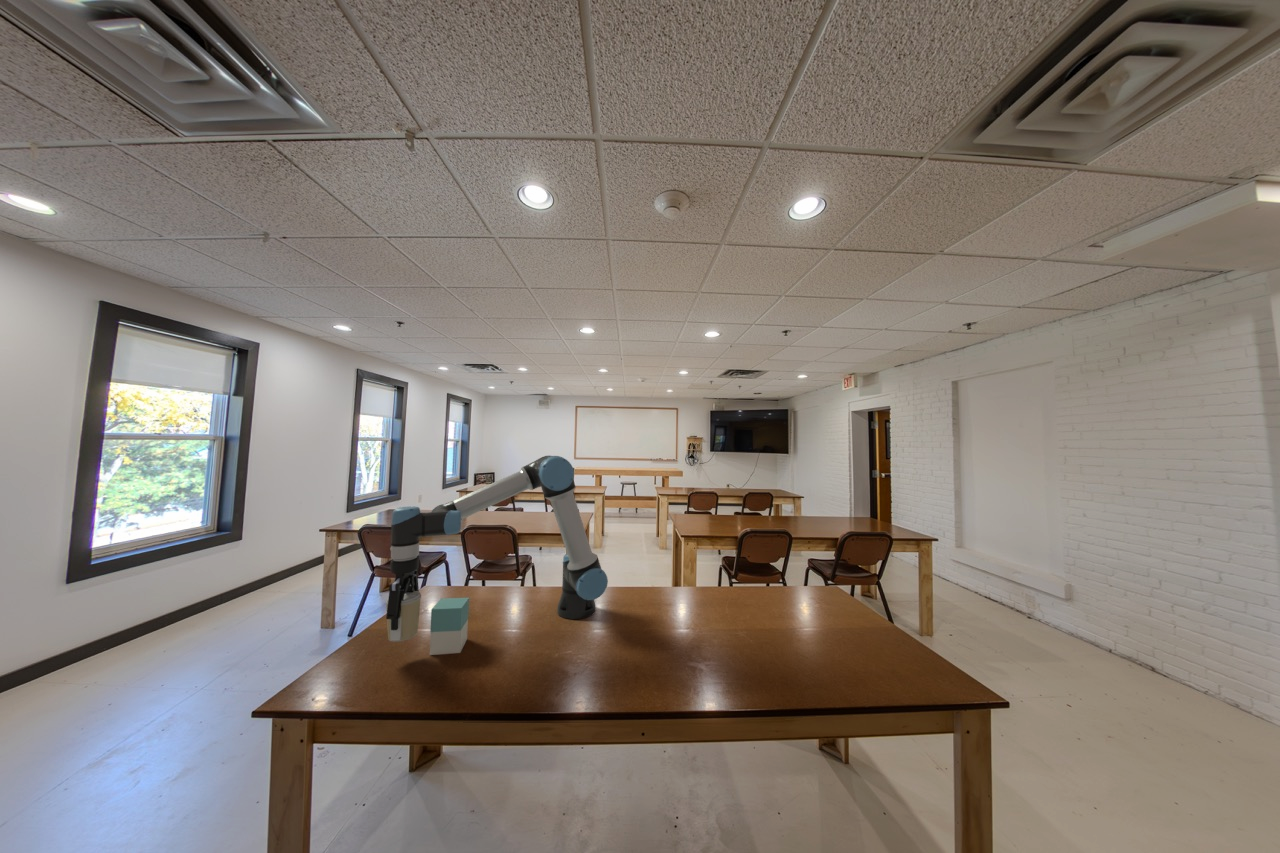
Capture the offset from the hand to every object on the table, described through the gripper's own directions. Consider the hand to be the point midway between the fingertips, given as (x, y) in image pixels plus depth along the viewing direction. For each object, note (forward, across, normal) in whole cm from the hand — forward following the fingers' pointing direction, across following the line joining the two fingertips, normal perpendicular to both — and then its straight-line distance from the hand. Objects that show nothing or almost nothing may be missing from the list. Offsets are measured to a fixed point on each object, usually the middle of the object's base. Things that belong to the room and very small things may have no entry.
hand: (403, 632), depth 121 cm
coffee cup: (+1, 0, 0) cm, 1 cm away
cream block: (+8, -7, +11) cm, 16 cm away
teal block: (+1, -7, +12) cm, 13 cm away
